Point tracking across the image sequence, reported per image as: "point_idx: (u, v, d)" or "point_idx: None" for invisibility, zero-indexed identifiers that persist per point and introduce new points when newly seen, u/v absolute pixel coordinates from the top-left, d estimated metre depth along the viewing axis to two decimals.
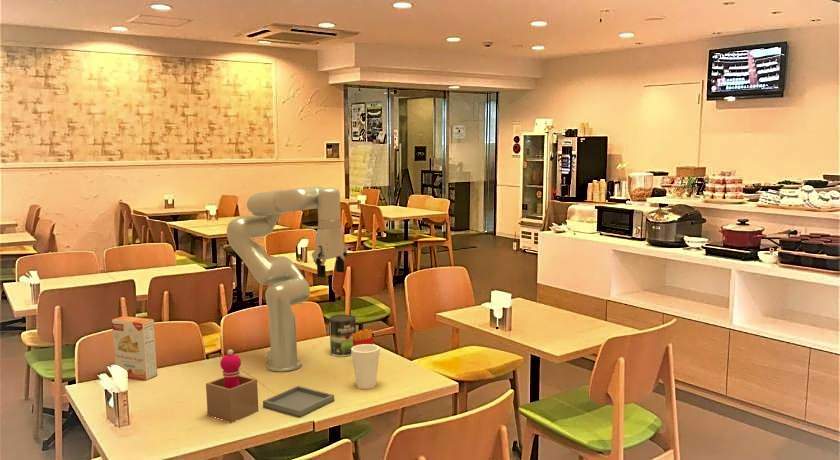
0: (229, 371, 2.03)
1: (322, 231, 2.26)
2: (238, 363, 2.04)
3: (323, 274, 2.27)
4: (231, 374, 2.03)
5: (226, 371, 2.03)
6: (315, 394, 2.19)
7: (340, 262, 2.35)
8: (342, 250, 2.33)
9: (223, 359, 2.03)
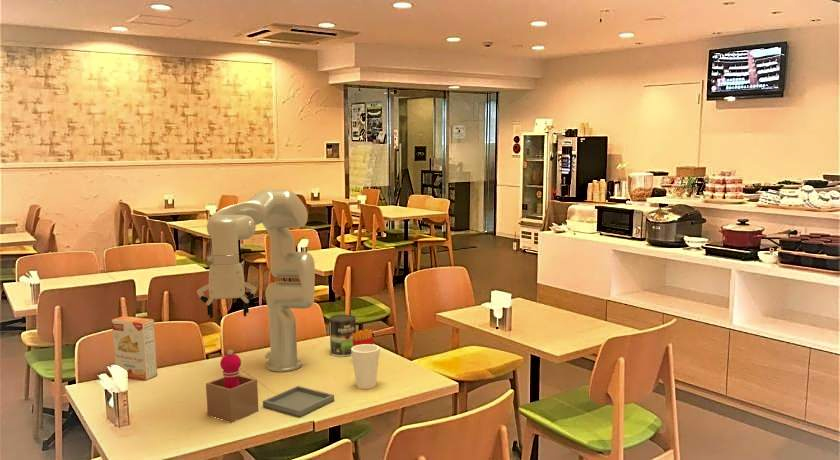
0: (229, 371, 2.03)
1: None
2: (238, 363, 2.04)
3: None
4: (231, 374, 2.03)
5: (226, 371, 2.03)
6: (315, 394, 2.19)
7: (212, 305, 2.02)
8: None
9: (223, 359, 2.03)
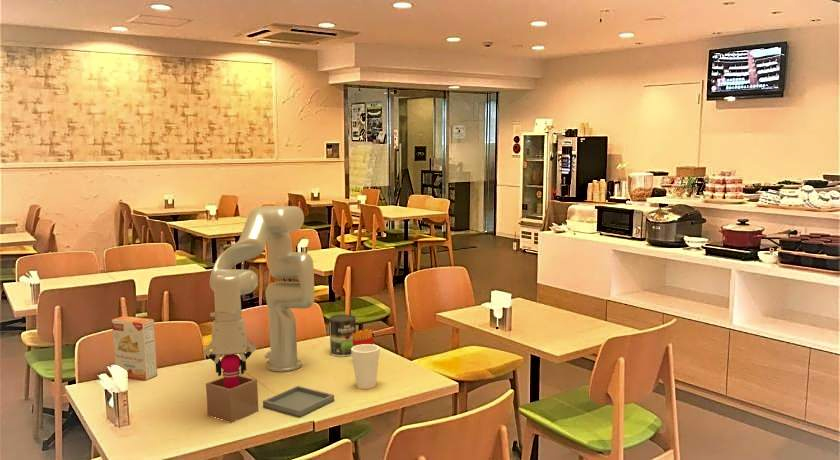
0: (229, 371, 2.03)
1: (243, 320, 2.05)
2: (238, 363, 2.04)
3: None
4: (231, 374, 2.03)
5: (226, 371, 2.03)
6: (315, 394, 2.19)
7: (220, 362, 2.05)
8: None
9: (222, 359, 2.03)
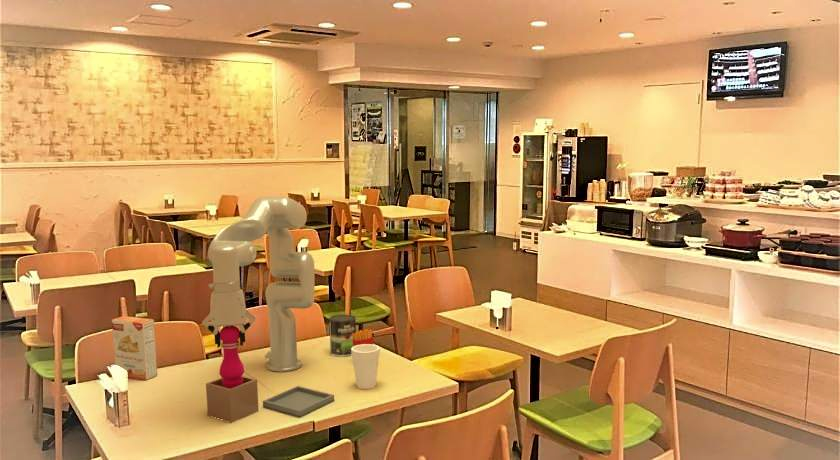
0: (228, 342, 2.02)
1: (242, 291, 2.04)
2: (237, 334, 2.03)
3: None
4: (230, 345, 2.02)
5: (225, 342, 2.03)
6: (315, 394, 2.19)
7: None
8: None
9: (221, 330, 2.02)
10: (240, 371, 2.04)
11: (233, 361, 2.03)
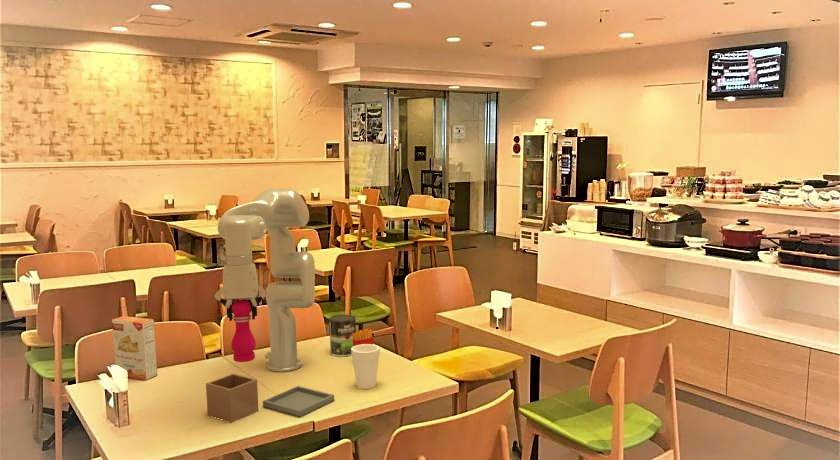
0: (240, 316, 2.02)
1: (254, 265, 2.04)
2: (249, 308, 2.03)
3: None
4: (242, 319, 2.03)
5: (237, 316, 2.03)
6: (315, 394, 2.19)
7: None
8: None
9: (233, 303, 2.03)
10: (252, 345, 2.04)
11: (244, 334, 2.03)
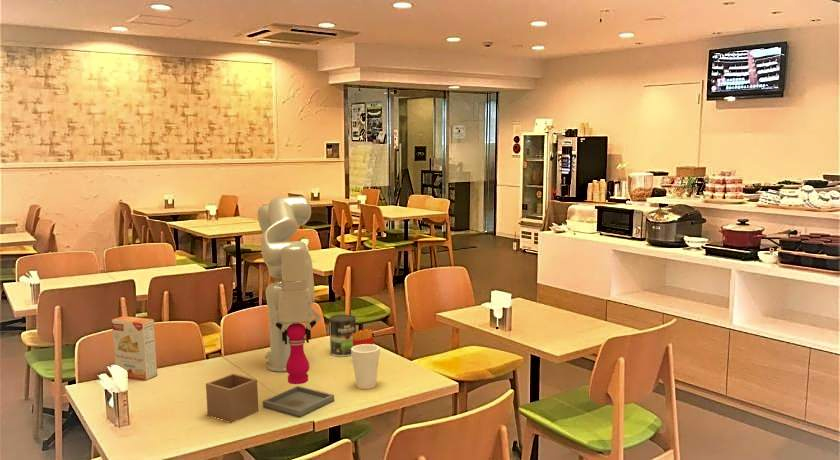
0: (295, 339, 2.09)
1: None
2: (304, 332, 2.09)
3: None
4: (297, 342, 2.09)
5: (292, 339, 2.09)
6: (315, 394, 2.19)
7: (286, 331, 2.11)
8: None
9: (289, 327, 2.09)
10: (307, 367, 2.10)
11: (299, 357, 2.09)
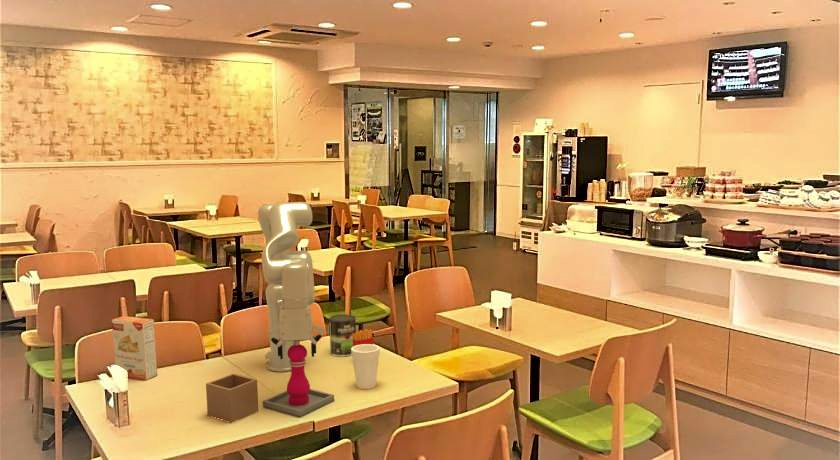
0: (296, 361, 2.10)
1: (309, 307, 2.11)
2: (305, 353, 2.11)
3: None
4: (298, 363, 2.10)
5: (293, 361, 2.10)
6: (315, 394, 2.19)
7: None
8: None
9: (290, 349, 2.10)
10: (307, 389, 2.12)
11: (300, 379, 2.11)
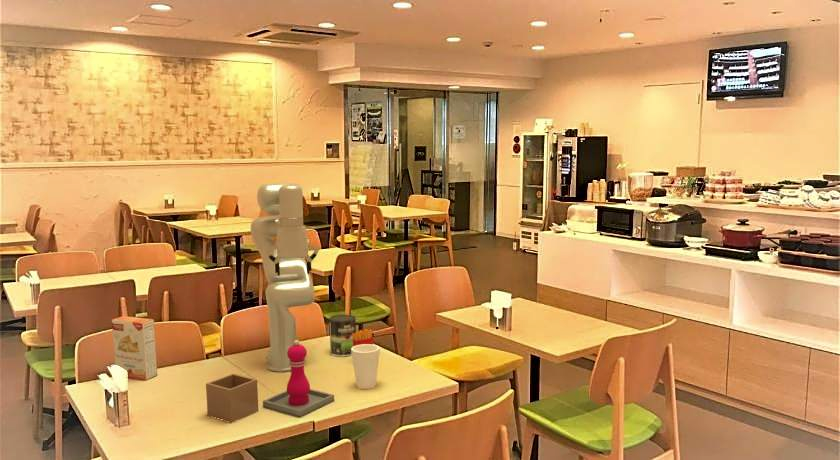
0: (296, 361, 2.10)
1: None
2: (304, 353, 2.11)
3: None
4: (298, 363, 2.10)
5: (293, 361, 2.10)
6: (315, 394, 2.19)
7: None
8: None
9: (290, 349, 2.10)
10: (307, 389, 2.12)
11: (300, 379, 2.11)
